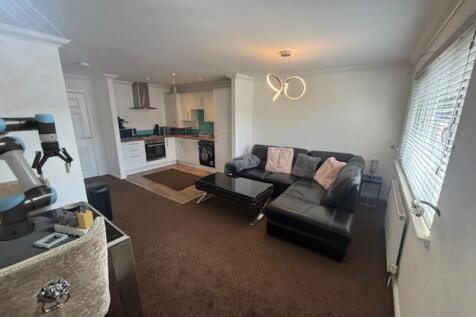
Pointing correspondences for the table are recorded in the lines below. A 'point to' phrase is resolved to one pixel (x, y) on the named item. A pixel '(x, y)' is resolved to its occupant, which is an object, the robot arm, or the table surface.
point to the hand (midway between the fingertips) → (56, 176)
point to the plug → (85, 219)
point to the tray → (40, 242)
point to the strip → (69, 224)
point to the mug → (73, 207)
